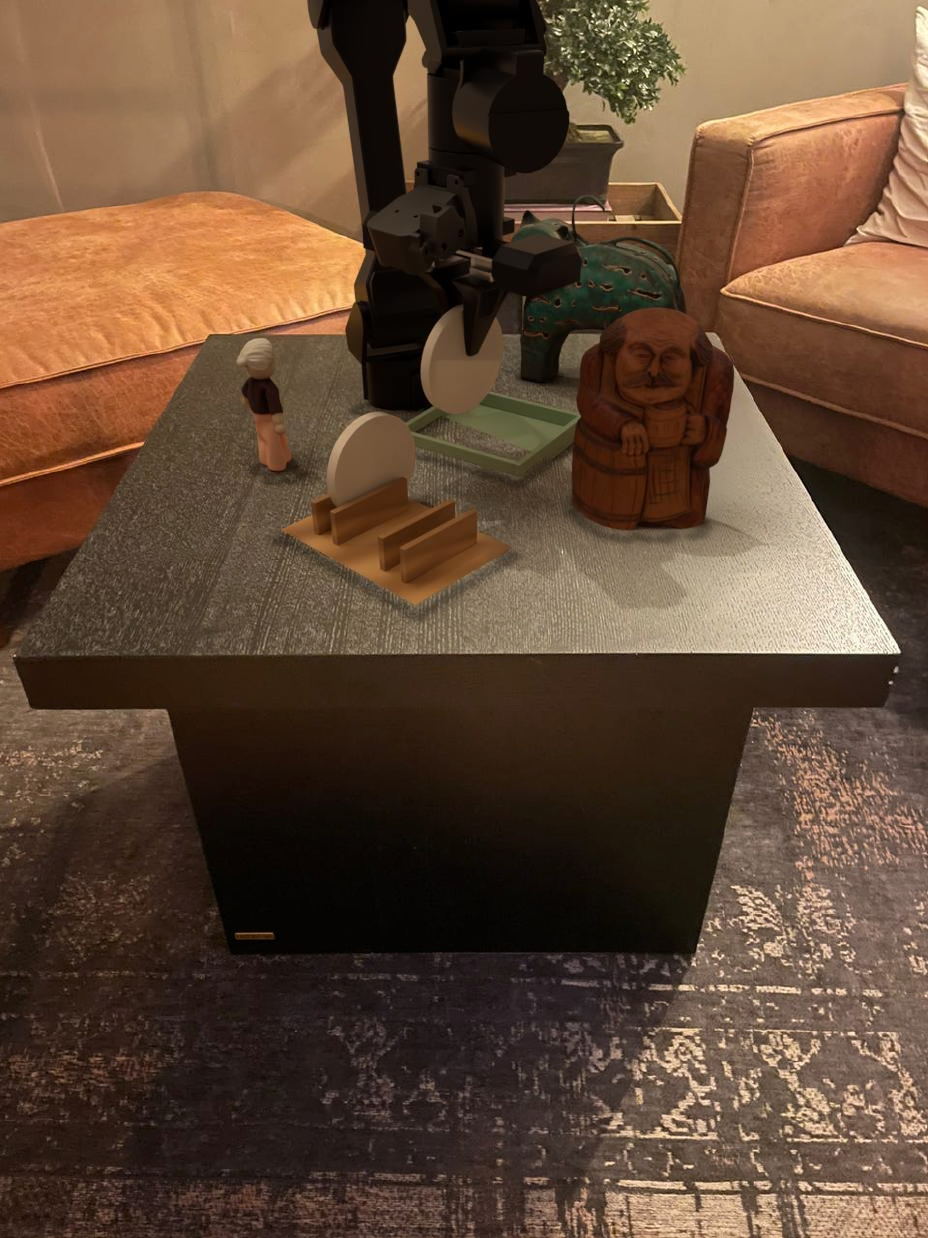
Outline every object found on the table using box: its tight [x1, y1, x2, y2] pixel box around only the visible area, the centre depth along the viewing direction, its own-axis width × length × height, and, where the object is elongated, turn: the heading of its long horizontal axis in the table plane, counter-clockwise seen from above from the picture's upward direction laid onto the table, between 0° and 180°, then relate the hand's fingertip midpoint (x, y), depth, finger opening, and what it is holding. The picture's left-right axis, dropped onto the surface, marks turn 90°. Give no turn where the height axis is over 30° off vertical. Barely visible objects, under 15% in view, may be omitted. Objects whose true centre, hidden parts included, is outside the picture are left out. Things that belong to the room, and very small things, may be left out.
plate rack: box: [280, 477, 513, 606], centre depth 75 cm, size 16×11×4 cm
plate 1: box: [326, 411, 417, 508], centre depth 76 cm, size 1×9×9 cm, turn 137°
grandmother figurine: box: [235, 337, 293, 472], centre depth 83 cm, size 8×4×13 cm, turn 47°
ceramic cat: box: [510, 194, 688, 384], centre depth 97 cm, size 20×6×20 cm, turn 58°
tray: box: [405, 390, 581, 478], centre depth 91 cm, size 14×13×2 cm
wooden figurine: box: [571, 308, 735, 531], centre depth 74 cm, size 12×6×18 cm, turn 89°
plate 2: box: [421, 304, 504, 414], centre depth 77 cm, size 1×9×9 cm, turn 137°
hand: (466, 352), depth 77 cm, fingers closed on plate 2, 1 cm apart
